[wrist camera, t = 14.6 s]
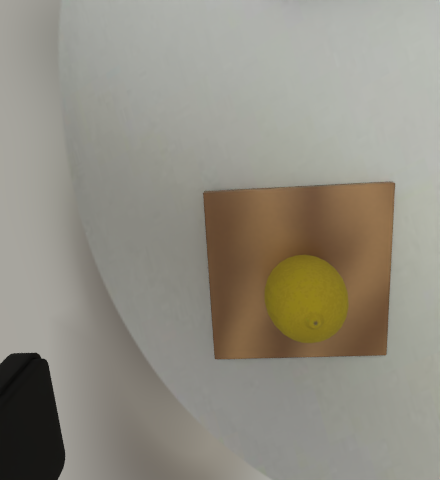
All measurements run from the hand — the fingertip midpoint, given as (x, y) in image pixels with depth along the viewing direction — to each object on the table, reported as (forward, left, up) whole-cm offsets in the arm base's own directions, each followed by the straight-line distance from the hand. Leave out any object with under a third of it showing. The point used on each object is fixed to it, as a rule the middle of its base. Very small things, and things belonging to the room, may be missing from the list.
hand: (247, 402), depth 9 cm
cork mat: (+4, -5, -23) cm, 24 cm away
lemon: (+4, -5, -22) cm, 23 cm away
